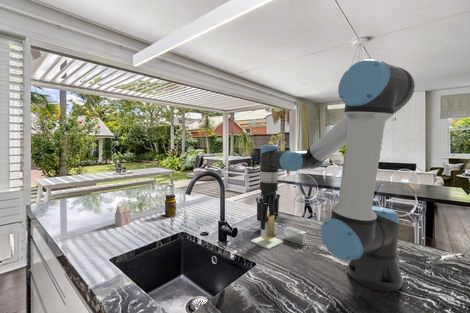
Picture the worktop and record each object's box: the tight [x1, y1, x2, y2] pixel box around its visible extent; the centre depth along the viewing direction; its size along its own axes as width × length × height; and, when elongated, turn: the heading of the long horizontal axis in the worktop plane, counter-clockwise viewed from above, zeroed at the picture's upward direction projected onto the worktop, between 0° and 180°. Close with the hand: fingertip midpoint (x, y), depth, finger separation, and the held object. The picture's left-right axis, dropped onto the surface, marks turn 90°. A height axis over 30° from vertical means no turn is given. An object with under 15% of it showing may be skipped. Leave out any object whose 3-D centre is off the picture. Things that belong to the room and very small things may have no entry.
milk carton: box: [114, 203, 132, 228], centre depth 122 cm, size 4×7×10 cm, turn 161°
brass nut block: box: [260, 212, 275, 240], centre depth 102 cm, size 4×4×10 cm
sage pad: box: [250, 235, 285, 250], centre depth 103 cm, size 10×10×1 cm
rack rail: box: [258, 221, 308, 246], centre depth 109 cm, size 24×3×5 cm, turn 43°
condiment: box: [159, 194, 178, 219], centre depth 136 cm, size 7×8×12 cm
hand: (267, 234), depth 102 cm, fingers open, 4 cm apart
